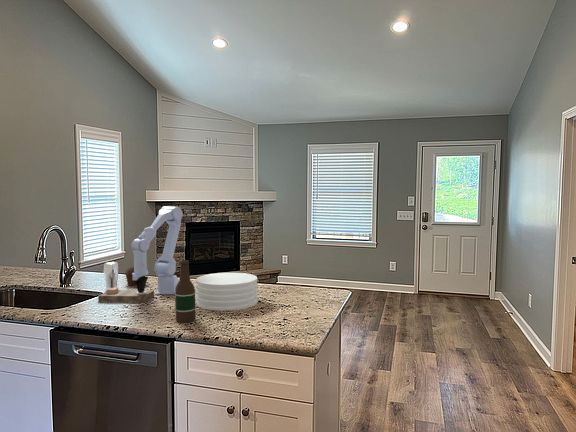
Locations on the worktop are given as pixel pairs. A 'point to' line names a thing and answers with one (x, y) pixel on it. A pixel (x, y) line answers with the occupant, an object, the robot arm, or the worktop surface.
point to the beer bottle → (184, 296)
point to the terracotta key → (112, 291)
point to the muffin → (130, 276)
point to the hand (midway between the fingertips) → (141, 292)
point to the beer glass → (111, 274)
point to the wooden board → (126, 296)
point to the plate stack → (226, 291)
